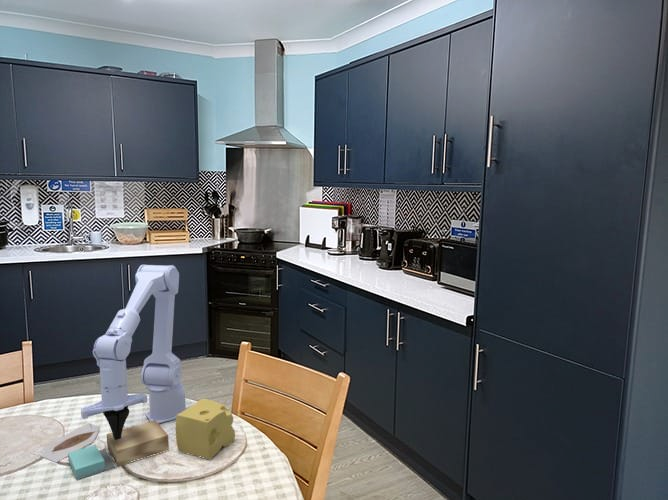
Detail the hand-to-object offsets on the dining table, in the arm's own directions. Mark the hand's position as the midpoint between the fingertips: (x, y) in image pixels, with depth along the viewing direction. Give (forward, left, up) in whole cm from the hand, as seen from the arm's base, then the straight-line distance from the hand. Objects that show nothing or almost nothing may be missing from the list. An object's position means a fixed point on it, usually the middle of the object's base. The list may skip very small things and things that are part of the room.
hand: (117, 437), depth 116 cm
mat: (+6, 0, -5) cm, 7 cm away
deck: (-5, 0, -5) cm, 7 cm away
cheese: (-19, +9, -5) cm, 21 cm away
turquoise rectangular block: (+7, 0, -2) cm, 7 cm away
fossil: (+7, -14, -5) cm, 17 cm away
